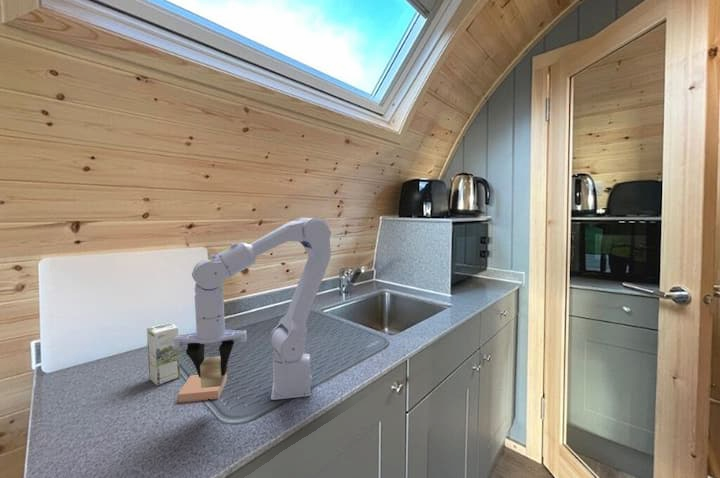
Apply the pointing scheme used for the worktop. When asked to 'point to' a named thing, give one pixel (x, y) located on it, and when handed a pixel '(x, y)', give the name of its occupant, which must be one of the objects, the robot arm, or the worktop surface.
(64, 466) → the worktop surface
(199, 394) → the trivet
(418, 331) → the worktop surface
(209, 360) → the beech block
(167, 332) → the syrup box
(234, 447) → the worktop surface
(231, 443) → the worktop surface
